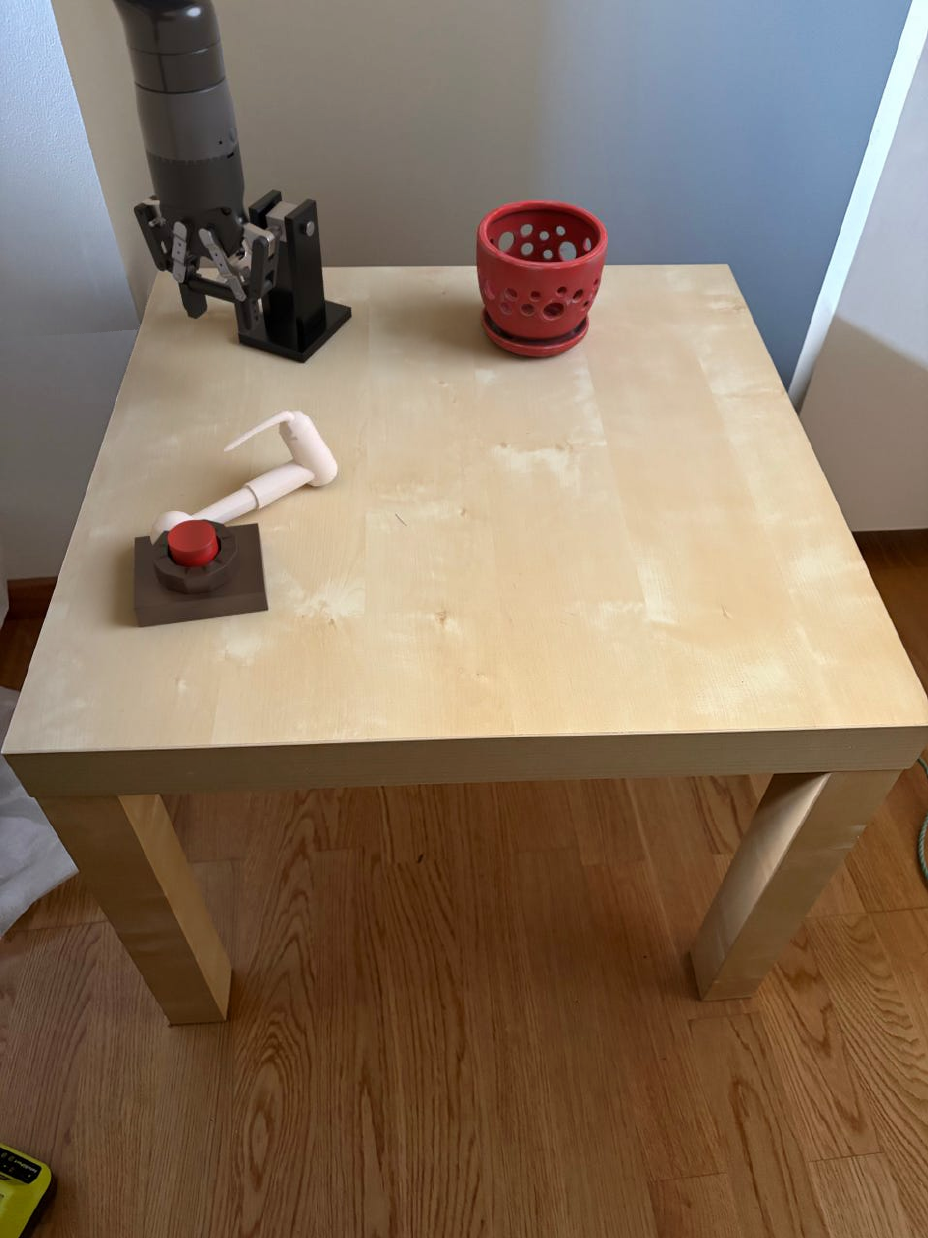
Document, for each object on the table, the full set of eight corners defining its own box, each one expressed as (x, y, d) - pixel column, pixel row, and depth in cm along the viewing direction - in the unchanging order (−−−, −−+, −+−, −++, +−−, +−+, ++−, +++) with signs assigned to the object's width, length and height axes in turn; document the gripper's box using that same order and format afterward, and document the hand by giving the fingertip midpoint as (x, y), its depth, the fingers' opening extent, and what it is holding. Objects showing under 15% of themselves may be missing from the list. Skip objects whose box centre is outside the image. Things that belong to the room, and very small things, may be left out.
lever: (237, 312, 88) (231, 289, 86) (191, 298, 89) (185, 275, 87) (315, 231, 95) (312, 208, 94) (272, 219, 97) (268, 197, 95)
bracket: (304, 363, 99) (290, 235, 89) (238, 343, 101) (217, 215, 91) (352, 316, 105) (344, 191, 95) (289, 298, 108) (275, 174, 97)
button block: (139, 627, 75) (127, 592, 72) (140, 556, 80) (129, 520, 77) (268, 610, 77) (262, 575, 74) (261, 541, 82) (255, 506, 79)
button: (172, 570, 75) (167, 554, 73) (171, 538, 77) (167, 522, 76) (219, 564, 75) (215, 548, 74) (217, 532, 77) (213, 516, 76)
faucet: (174, 580, 85) (116, 518, 76) (320, 448, 88) (280, 376, 80) (200, 605, 83) (144, 545, 74) (347, 470, 86) (309, 398, 78)
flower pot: (460, 308, 107) (463, 202, 98) (572, 297, 110) (585, 193, 101) (489, 376, 99) (495, 267, 90) (610, 362, 101) (628, 254, 92)
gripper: (89, 134, 78) (136, 322, 90) (238, 173, 74) (266, 363, 87) (146, 102, 82) (184, 285, 95) (291, 137, 79) (309, 322, 91)
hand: (223, 321), depth 91 cm, fingers closed on lever, 5 cm apart
